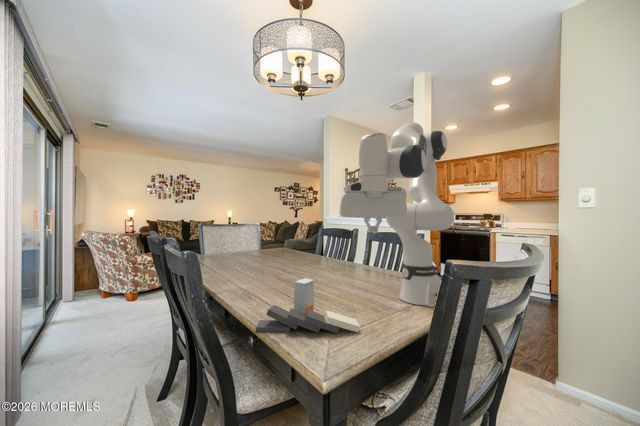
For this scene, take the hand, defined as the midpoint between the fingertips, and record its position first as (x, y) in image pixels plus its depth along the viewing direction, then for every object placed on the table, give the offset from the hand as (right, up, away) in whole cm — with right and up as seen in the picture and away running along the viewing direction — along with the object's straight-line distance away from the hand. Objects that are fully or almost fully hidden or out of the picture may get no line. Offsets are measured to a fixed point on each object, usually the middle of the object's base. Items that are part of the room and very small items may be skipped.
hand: (372, 232), depth 78 cm
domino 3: (-16, -28, -2) cm, 32 cm away
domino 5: (-5, -28, -1) cm, 29 cm away
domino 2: (-22, -28, -1) cm, 36 cm away
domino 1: (-25, -29, -1) cm, 38 cm away
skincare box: (-21, -29, +8) cm, 37 cm away
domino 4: (-11, -28, -2) cm, 30 cm away
